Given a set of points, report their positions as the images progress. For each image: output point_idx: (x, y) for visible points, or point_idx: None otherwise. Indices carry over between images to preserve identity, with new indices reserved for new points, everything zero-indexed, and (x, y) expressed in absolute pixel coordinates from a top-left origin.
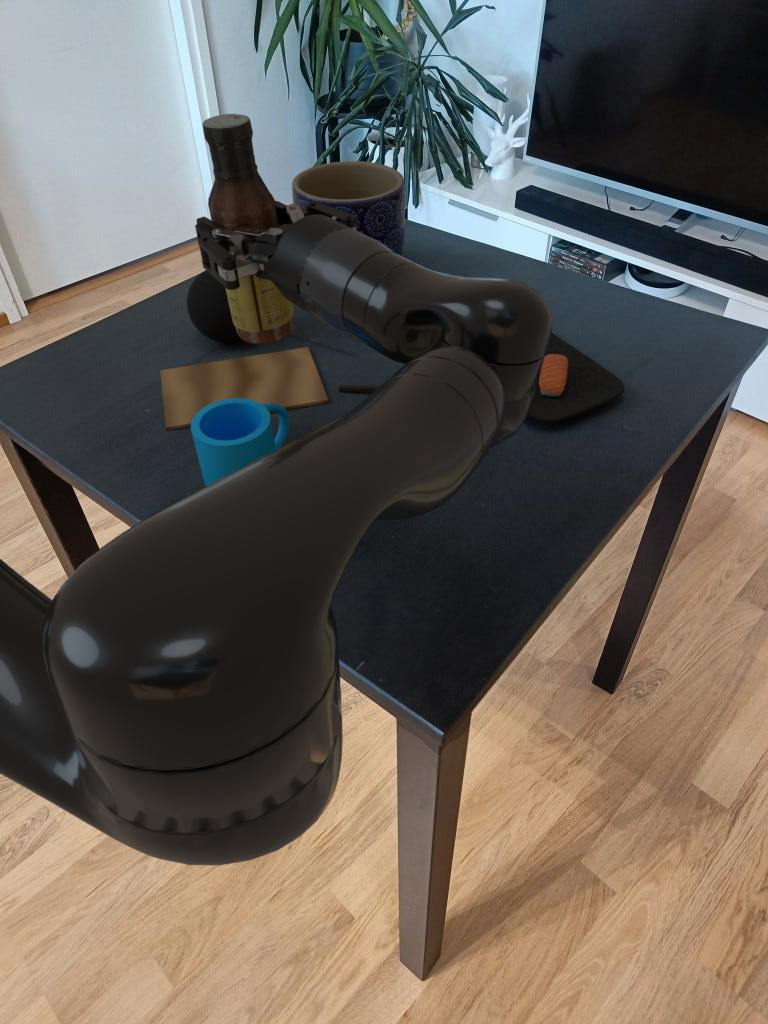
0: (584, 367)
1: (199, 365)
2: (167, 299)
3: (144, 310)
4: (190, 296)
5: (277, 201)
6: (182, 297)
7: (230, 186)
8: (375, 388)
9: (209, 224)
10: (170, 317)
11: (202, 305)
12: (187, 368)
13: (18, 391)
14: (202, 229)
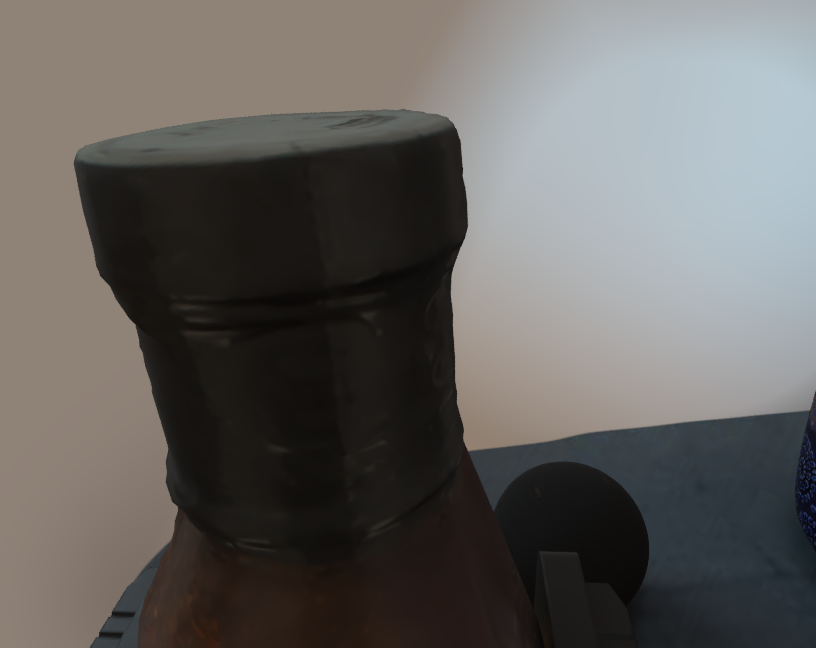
0: None
1: None
2: (522, 450)
3: (476, 454)
4: (501, 501)
5: (619, 604)
6: (545, 456)
7: (194, 544)
8: None
9: (128, 633)
10: (500, 487)
11: (506, 534)
12: None
13: None
14: (111, 629)
